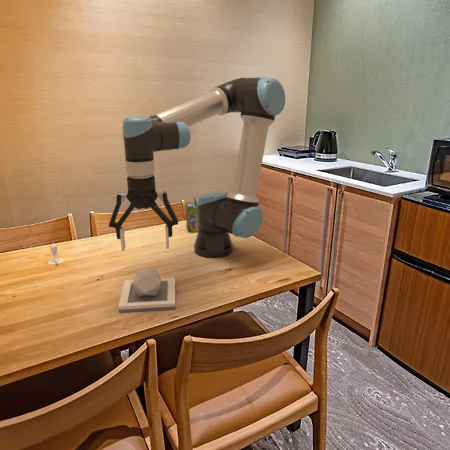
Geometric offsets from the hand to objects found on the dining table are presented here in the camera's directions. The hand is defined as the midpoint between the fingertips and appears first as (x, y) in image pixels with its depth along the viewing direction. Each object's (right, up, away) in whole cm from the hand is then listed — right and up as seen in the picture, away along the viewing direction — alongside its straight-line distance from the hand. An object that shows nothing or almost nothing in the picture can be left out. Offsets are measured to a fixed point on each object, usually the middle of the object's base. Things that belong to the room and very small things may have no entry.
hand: (145, 248), depth 114 cm
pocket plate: (0, -15, +6) cm, 16 cm away
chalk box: (+11, +5, +62) cm, 63 cm away
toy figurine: (-38, -7, +28) cm, 48 cm away
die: (0, -14, +5) cm, 15 cm away
